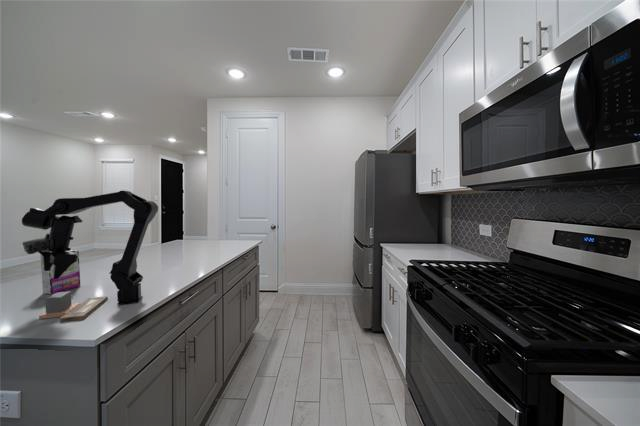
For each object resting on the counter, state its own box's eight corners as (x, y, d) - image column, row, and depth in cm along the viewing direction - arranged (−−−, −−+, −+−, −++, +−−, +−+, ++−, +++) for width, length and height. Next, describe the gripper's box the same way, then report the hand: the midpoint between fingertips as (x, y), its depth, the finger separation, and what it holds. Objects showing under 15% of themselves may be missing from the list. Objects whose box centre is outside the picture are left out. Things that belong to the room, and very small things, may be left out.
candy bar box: (72, 285, 118) (70, 249, 118) (80, 286, 117) (79, 249, 117) (41, 293, 107) (39, 254, 107) (50, 294, 106) (49, 254, 106)
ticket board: (107, 299, 102) (107, 296, 102) (83, 319, 85) (83, 315, 85) (88, 301, 100) (88, 297, 100) (60, 321, 83) (60, 317, 83)
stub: (80, 305, 96) (80, 289, 95) (66, 315, 87) (65, 298, 87) (56, 308, 93) (55, 291, 93) (39, 318, 85) (38, 300, 85)
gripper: (20, 225, 92) (9, 268, 91) (38, 238, 83) (26, 286, 83) (62, 227, 101) (52, 266, 101) (83, 239, 92) (72, 282, 92)
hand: (50, 274), depth 94 cm, fingers open, 9 cm apart
